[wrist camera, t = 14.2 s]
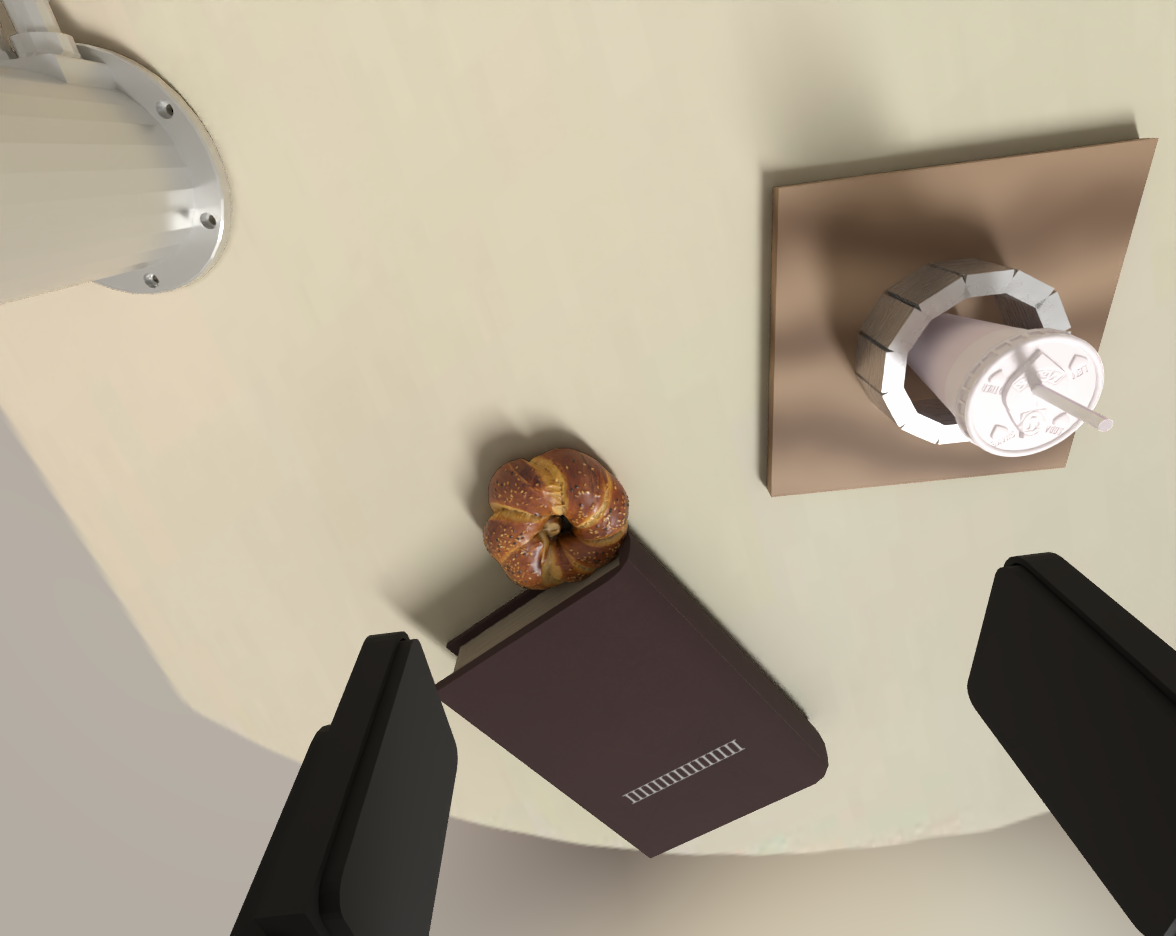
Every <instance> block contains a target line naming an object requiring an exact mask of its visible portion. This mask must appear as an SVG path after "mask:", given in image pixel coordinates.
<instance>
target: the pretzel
mask: <svg viewBox="0 0 1176 936" xmlns="http://www.w3.org/2000/svg"><path fill="white" fill-rule="evenodd" d="M488 497H489V504H490V506H491V508H492V510H493V511H494V515H493V516H491V517H490V518H489V520H488V521H487V523H486V525H485V527H484V531H483V541H484V544H485V546H486V548H487V551H488V552H489V553H490V554H491V555H492V557H494V559H496V561H498V562H499V563H500V564H501V566H502V568H503V570H505V573H506V575H507V576H508V577H509V578H510V579H511V580H512V581H513V582H514V583H516V584H518V585H520V587H523V588H528V589H531V590H537V589H539V590H544V589H550V588H551V587H555V586H558V585H559V584H561V583H563V582H565V581H567V582H570V583H572V582H580V581H582V580H584V579H586V578H588V577H589V576H590V575H591V574H592V573H593V572H594V571H595V570H596V569H597V568H599V567H602V566H604V565H606V564H607V563H609V562H611V561H612V560H614V559H616V557H617V556H618V555H619V548H620V546H621V545H622V544H623V542H624V540H625V538H626V536H627V531H628V529H627V528H628V524H627V518H628V513H629V512H628V508H629V503H628V502H629V500H628V496H627V495H626V492H625V490H624V488H623V487H622V485H621V484H620V483H619V481H618V480H617V479H616V478H615V477H614V476H613V475H612V474H611V473H609V472H608V471H607V470H606V469H605V468H604V467H603V466H602V465H601V464H600V463H599V462H598V461H596V460H595V459H593V458H592V457H590V456H589V455H586V454H584V453H582V452H579V451H576V450H573V449H567V448H559V449H555V448H554V449H552V450H550V451H547V452H545V453H543V454H541V455H539V456H536V457H535V458H533V459H532V460H531V461H530V462H527V461H525V460H524V459H518V460H514V461H510V462H508V463H506V464H505V465H503V466H502V467H500V468H499V469H498V470H497V471H496V473H495V474H494V475H493V477H492V479H491V481H490V484H489V487H488ZM560 515H564V516H565V517H566V518H567V519H568V521H569V522H570V523H571V524H572V526H571V527H570V528H571V530H570V531H562V532H560V530H561V528H562V526H563V524H564V523H565V522H564V521H563V520H562V519H561V517H560Z"/></svg>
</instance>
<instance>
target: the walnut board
mask: <svg viewBox="0 0 1176 936" xmlns="http://www.w3.org/2000/svg"><path fill="white" fill-rule="evenodd" d="M1157 141H1158V138H1142V139H1133V140H1125V141H1118V142H1110V143H1103V144H1095V145H1088V146H1080V147H1073V148H1065V149H1058V150H1050V151H1042V152H1035V153H1027V154H1020V155H1012V156H1005V157H997V158H990V159H982V160H975V161H967V162H960V163H952V164H944V165H937V166H929V167H922V168H914V169H907V170H899V171H892V172H884V173H877V174H869V175H862V176H854V177H846V178H839V179H831V180H824V181H816V182H809V183H801V184H794V185H786V186H779V187H773V213H772V263H771V313H770V363H769V414H768V464H767V489H768V491H769V493H770V495H771V497H776V496H786V495H796V494H806V493H816V492H826V491H835V490H845V489H855V488H865V487H875V486H885V485H895V484H905V483H915V482H925V481H935V480H945V479H955V478H965V477H975V476H985V475H995V474H1004V473H1014V472H1024V471H1034V470H1044V469H1054V468H1064V467H1065V466H1066V463H1067V459H1068V456H1069V452H1070V448H1071V445H1072V441H1073V438H1074V434H1075V431H1074V432H1073V433H1072V434H1071V435H1070V436H1068V437H1067V438H1065V439H1064V440H1062V441H1061V442H1059V443H1058V444H1056V445H1054V446H1052V447H1050V448H1048V449H1046V450H1043V451H1041V452H1038V453H1034V454H1031V455H1026V456H1019V457H1005V456H999V455H995V454H992V453H989V452H987V451H985V450H983V449H982V448H980V447H979V446H977V445H975V444H973V443H971V442H970V441H964V442H955V443H945V444H938V443H937V442H936V443H935V444H934V443H932V442H930V441H928V440H925V439H923V438H921V437H918V436H916V435H914V434H911V433H909V432H907V431H905V430H902V429H901V428H900V427H899V426H898V425H896V424H895V423H894V422H893V421H892V420H891V419H890V418H889V417H887V416H886V415H885V414H884V413H883V412H882V411H881V410H880V409H878V408H877V407H876V406H875V405H874V404H873V403H872V402H871V401H870V399H869V397H868V395H867V394H866V392H865V390H864V388H863V387H862V385H861V383H860V381H859V380H858V378H857V376H856V373H857V372H856V371H855V360H856V349H857V338H858V333H864V332H862V331H861V330H859V329H860V328H861V326H862V325H863V323H864V321H865V320H866V318H867V317H868V315H869V314H870V312H871V311H872V309H873V307H874V306H875V304H876V303H877V301H878V300H879V298H880V297H881V295H882V293H884V294H886V295H888V296H889V294H888V292H887V290H886V289H888V288H889V287H891V286H892V285H894V284H895V283H897V282H899V281H900V280H902V279H903V278H905V277H906V276H908V275H909V274H911V273H912V272H914V271H915V270H917V269H918V268H920V267H921V266H923V265H928V266H929V263H931V262H939V261H947V260H956V259H964V258H977V259H980V260H984V261H988V262H991V263H995V264H999V265H1002V266H1006V267H1010V268H1013V269H1017V270H1020V271H1022V272H1024V273H1026V274H1028V275H1029V276H1031V277H1033V278H1035V279H1037V280H1039V281H1041V282H1043V283H1045V284H1047V285H1049V286H1051V287H1053V288H1055V289H1054V291H1057V292H1058V294H1059V297H1060V300H1061V302H1062V305H1063V308H1064V310H1065V313H1066V315H1067V318H1068V321H1069V323H1070V326H1071V328H1069V329H1067V330H1069V331H1071V334H1072V335H1073V336H1075V337H1078V338H1081V339H1082V340H1084V341H1086V342H1087V343H1089V344H1090V345H1091V346H1092V347H1093V348H1094V349H1095V350H1096V351H1097V353H1098V350H1099V346H1100V343H1101V339H1102V335H1103V332H1104V328H1105V325H1106V321H1107V318H1108V314H1109V311H1110V307H1111V304H1112V300H1113V297H1114V293H1115V290H1116V286H1117V283H1118V279H1119V275H1120V272H1121V268H1122V265H1123V261H1124V258H1125V254H1126V251H1127V247H1128V244H1129V240H1130V237H1131V233H1132V230H1133V226H1134V222H1135V219H1136V215H1137V212H1138V208H1139V205H1140V201H1141V198H1142V194H1143V191H1144V187H1145V184H1146V180H1147V177H1148V173H1149V169H1150V166H1151V162H1152V159H1153V155H1154V152H1155V148H1156V145H1157ZM943 313H948V314H953V315H957V316H962V317H967V318H972V319H977V320H982V321H987V322H992V323H997V324H1002V323H1003V318H1002V316H1001V313H1000V311H999V309H998V306H997V304H996V302H995V299H994V297H993V295H986V296H978V297H969V298H966V299H964V300H963V301H961V302H959V303H958V304H956V305H955V306H953V307H951V308H950V309H948V310H947V311H945V312H943ZM903 388H904V390H905V391H906V393H907V395H908V397H909V399H910V400H912V401H916V400H926V399H935V398H938V397H937V396H936V395H935V394H934V393H933V392H932V390H931V389H930V388H929V387H928V386H927V385H926V384H925V383H924V382H923V381H922V380H921V378H920V377H919V376H918V375H917V374H916V373H915V372H914V371H913V370H912V369H911V368H910V366H909V365H908V364H907V363H906V371H905V378H904V386H903Z"/></svg>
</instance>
